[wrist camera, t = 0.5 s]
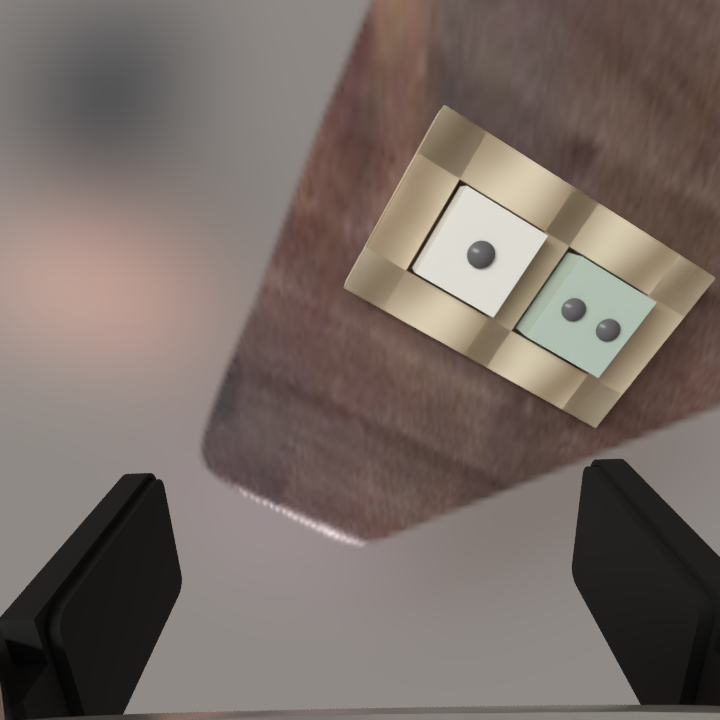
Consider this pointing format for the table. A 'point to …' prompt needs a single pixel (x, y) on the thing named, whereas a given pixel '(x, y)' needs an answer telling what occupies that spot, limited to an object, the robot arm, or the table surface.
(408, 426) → the table surface
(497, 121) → the table surface
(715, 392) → the table surface
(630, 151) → the table surface
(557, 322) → the two dot tile
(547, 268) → the tile board
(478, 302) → the one dot tile
